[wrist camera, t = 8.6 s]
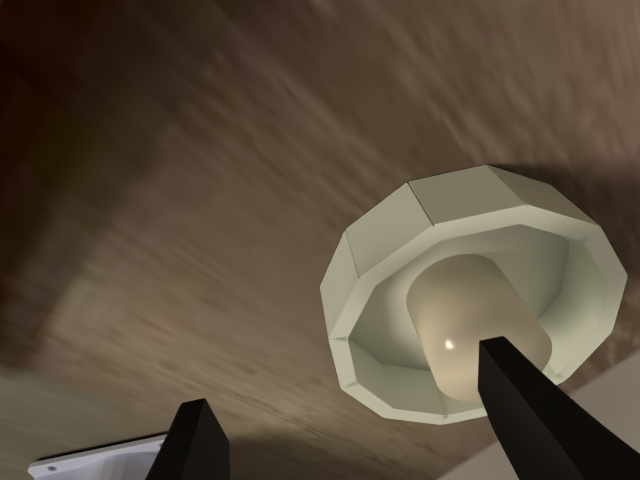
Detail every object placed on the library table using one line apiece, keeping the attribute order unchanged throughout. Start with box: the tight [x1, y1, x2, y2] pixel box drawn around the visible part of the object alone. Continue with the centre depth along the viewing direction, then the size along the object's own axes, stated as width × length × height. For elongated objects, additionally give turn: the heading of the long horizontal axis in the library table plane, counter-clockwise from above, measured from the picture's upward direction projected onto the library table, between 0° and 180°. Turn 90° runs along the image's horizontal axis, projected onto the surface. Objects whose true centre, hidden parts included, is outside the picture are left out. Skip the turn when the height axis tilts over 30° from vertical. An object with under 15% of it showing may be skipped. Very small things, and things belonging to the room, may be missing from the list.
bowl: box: [320, 165, 628, 425], centre depth 21 cm, size 13×13×4 cm
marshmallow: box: [406, 254, 552, 402], centre depth 20 cm, size 5×5×4 cm
